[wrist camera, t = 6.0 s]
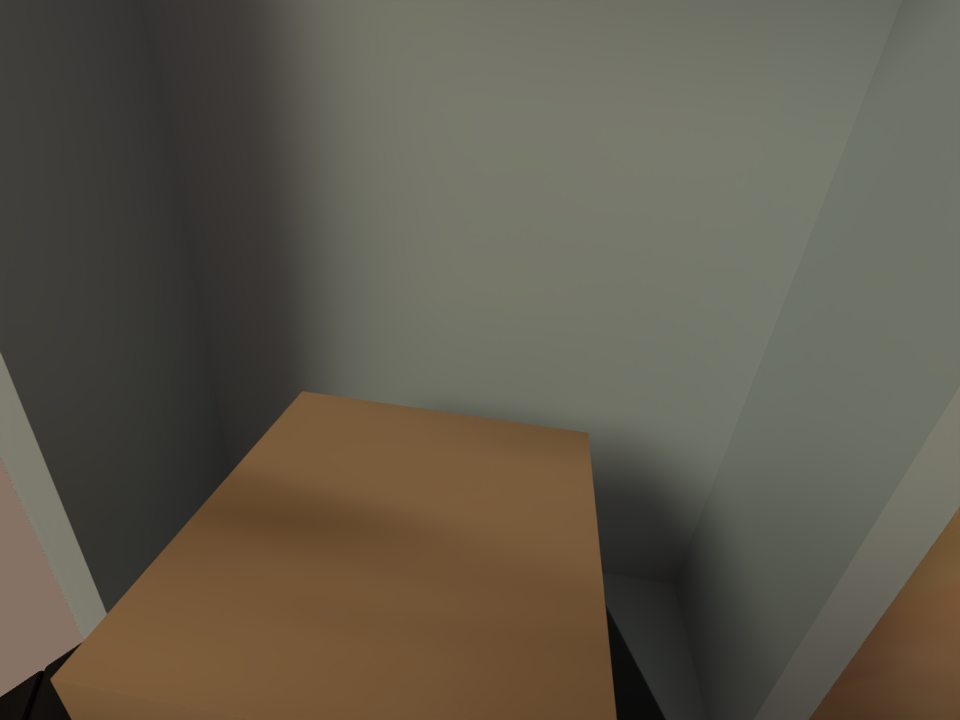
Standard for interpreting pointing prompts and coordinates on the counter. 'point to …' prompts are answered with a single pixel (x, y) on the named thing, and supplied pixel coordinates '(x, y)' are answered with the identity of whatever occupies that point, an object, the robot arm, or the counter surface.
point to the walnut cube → (369, 581)
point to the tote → (506, 284)
